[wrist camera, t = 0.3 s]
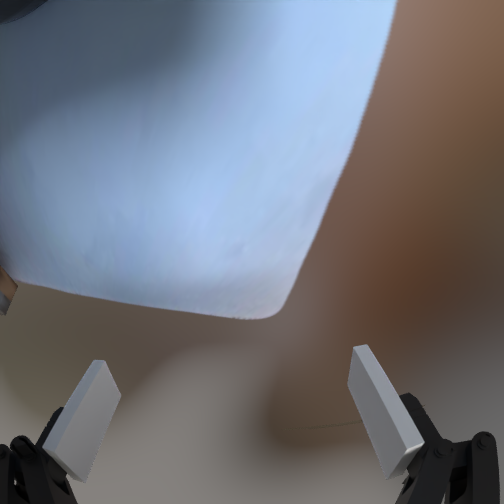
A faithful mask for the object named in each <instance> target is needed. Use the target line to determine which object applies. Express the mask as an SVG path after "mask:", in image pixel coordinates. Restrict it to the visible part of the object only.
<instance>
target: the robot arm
mask: <svg viewBox="0 0 504 504" xmlns="http://www.w3.org/2000/svg"><path fill="white" fill-rule="evenodd" d="M45 1H47V0H0V25H1V24H4V23H8V22H11V21H14V20H16V19H19V18H21V17H23V16H25V15H26V14H28V13H30V12H31V11H33V10H34V9H36V8H37V7H39V6H40V5H41V4H43V3H44V2H45ZM348 387H349V389H350V392H351V394H352V396H353V398H354V401H355V403H356V406H357V408H358V410H359V413H360V415H361V418H362V420H363V422H364V425H365V427H366V430H367V432H368V435H369V437H370V440H371V442H372V444H373V447H374V449H375V452H376V454H377V457H378V459H379V462H380V464H381V467H382V470H383V472H384V475H385V477H386V480H388V479H391V478H394V477H397V476H399V475H402V474H403V473H404V471H405V470H406V469H407V470H408V473H409V475H408V476H407V478H406V479H405V480H404V482H403V483H402V484H404V487H403V488H402V491H401V493H400V495H399V497H398V499H397V501H396V503H395V504H441V502H442V499H443V497H444V494H445V502H444V504H500V484H499V467H498V456H497V447H496V441H495V438H494V436H493V435H492V434H491V433H489V432H479V433H477V434H476V435H475V436H474V437H473V439H472V440H469V441H464V442H458V443H452V442H451V441H450V440H447V439H443V438H442V437H441V436H440V434H439V433H438V431H437V429H436V428H435V426H434V425H433V423H432V421H431V420H430V418H429V416H428V415H427V414H426V412H425V410H424V408H422V405H421V404H420V402H419V401H418V399H417V398H416V397H414V396H413V395H412V394H410V393H406V394H403V395H400V396H398V394H397V393H396V391H395V389H394V388H393V386H392V384H391V383H390V381H389V379H388V378H387V376H386V374H385V373H384V371H383V370H382V368H381V366H380V365H379V363H378V361H377V360H376V358H375V356H374V355H373V353H372V352H371V350H370V349H369V347H368V346H367V345H362V346H357V347H354V348H353V355H352V361H351V367H350V373H349V379H348ZM120 397H121V394H120V392H119V390H118V388H117V386H116V384H115V382H114V380H113V378H112V375H111V373H110V371H109V369H108V366H107V364H106V362H105V361H102V360H94V361H93V362H92V364H91V366H90V367H89V368H88V370H87V372H86V373H85V375H84V376H83V378H82V379H81V381H80V383H79V384H78V386H77V388H76V389H75V391H74V392H73V394H72V396H71V397H70V399H69V401H68V402H67V404H66V406H65V407H64V408H63V407H60V408H59V409H58V410H56V411H55V412H54V413H53V415H52V417H51V418H50V421H49V422H48V423H47V427H45V429H44V430H43V432H42V434H41V436H40V438H39V439H38V441H37V443H36V445H34V444H33V443H32V442H31V441H30V440H29V439H28V438H27V437H26V436H23V435H22V436H17V437H15V438H14V439H13V440H12V442H11V444H10V449H11V450H12V451H11V450H10V449H9V448H8V446H6V445H4V444H0V504H78V503H77V501H76V499H75V497H74V494H73V492H72V489H71V487H70V484H69V481H68V480H67V478H66V474H69V475H70V476H71V477H72V478H73V479H75V480H78V481H80V482H83V483H86V481H87V478H88V475H89V473H90V470H91V467H92V465H93V462H94V460H95V457H96V455H97V452H98V449H99V447H100V445H101V442H102V439H103V437H104V435H105V432H106V430H107V427H108V425H109V423H110V420H111V418H112V416H113V413H114V411H115V409H116V406H117V404H118V402H119V400H120ZM14 479H15V480H16V485H15V484H14Z"/></svg>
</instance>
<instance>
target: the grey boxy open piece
mask: <svg viewBox="0 0 504 504" xmlns="http://www.w3.org/2000/svg"><path fill="white" fill-rule="evenodd" d="M17 287H18V286H17V284H16V283H15V282H14V281H13V280H12V279H11V278H10V276H9V275H8V274H7V273H6V272H5V271H4V269H3V268H2V267H1V266H0V315H6V313H7V310H8V308H9V306H10V303H11V301H12V298H13V296H14V294H15V291H16V289H17Z"/></svg>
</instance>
